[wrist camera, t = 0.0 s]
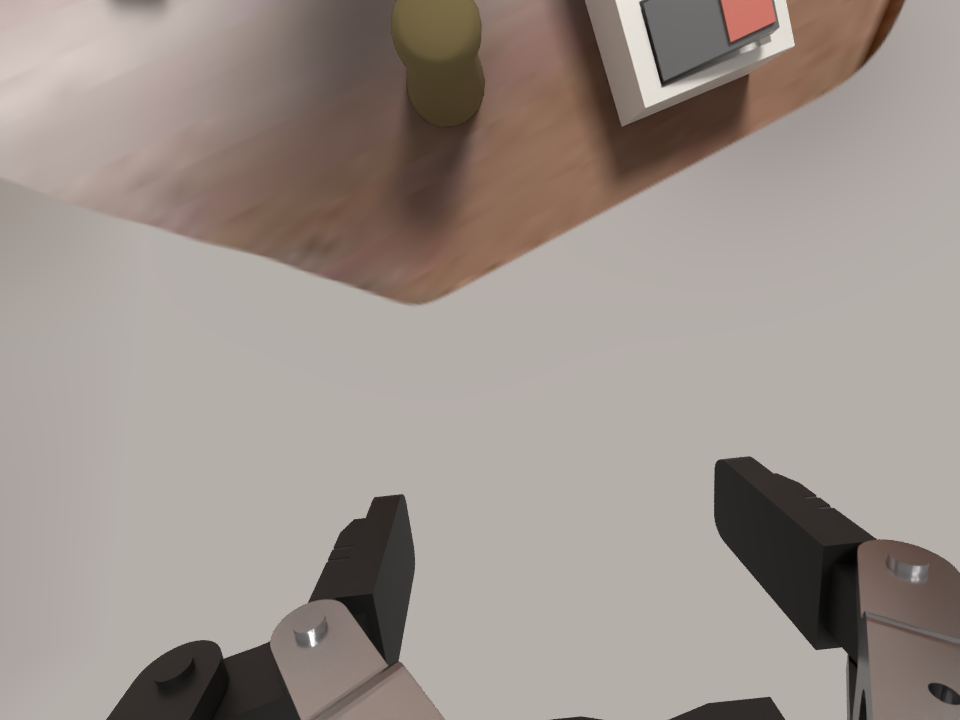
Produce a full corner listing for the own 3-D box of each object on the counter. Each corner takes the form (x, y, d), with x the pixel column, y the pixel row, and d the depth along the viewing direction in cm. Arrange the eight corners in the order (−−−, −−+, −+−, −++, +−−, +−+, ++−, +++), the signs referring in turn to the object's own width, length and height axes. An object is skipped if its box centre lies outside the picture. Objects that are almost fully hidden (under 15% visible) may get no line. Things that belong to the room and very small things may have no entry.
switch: (641, 10, 31) (643, 2, 30) (755, -49, 29) (763, -60, 28) (661, 85, 32) (664, 80, 31) (772, 33, 30) (780, 26, 29)
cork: (414, 30, 35) (388, -64, 24) (492, 51, 35) (501, -33, 25) (400, 116, 36) (369, 63, 26) (475, 135, 37) (476, 90, 26)
